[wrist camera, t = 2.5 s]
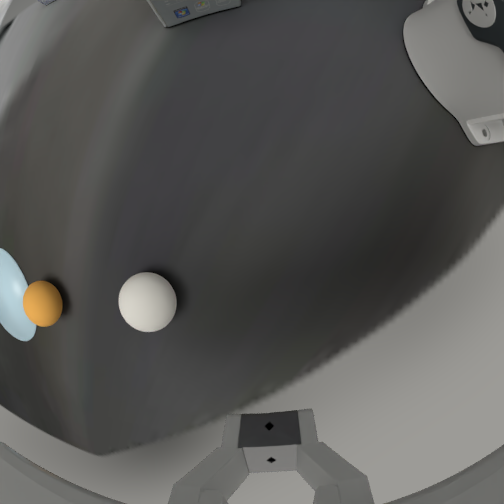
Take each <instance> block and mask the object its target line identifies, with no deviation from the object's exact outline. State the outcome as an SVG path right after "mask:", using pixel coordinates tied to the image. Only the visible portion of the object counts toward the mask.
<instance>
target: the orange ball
mask: <svg viewBox="0 0 504 504" xmlns="http://www.w3.org/2000/svg"><path fill="white" fill-rule="evenodd" d="M23 308H24V311H25V314H26V315H27V317H28V318H29V320H30V321H31V322H33V323H34V324H36V325H38V326H42V327H46V326H50V325H52V324H54V323H55V322H56V321H57V320H58V319H59V317H60V315H61V312H62V298H61V295H60V293H59V291H58V290H57V288H56V287H55V286H54V285H52V284H51V283H49V282H47V281H36V282H34V283H32V284H30V285H29V286H28V288H27V289H26V291H25V293H24V296H23Z"/></svg>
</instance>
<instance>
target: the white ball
mask: <svg viewBox="0 0 504 504" xmlns="http://www.w3.org/2000/svg"><path fill="white" fill-rule="evenodd" d="M176 306H177V300H176V295H175V292H174V290H173V288H172V286H171V285H170V283H169V282H168V281H167V280H166V279H165V278H163V277H162V276H160V275H158V274H155V273H150V272H143V273H139V274H136V275H134V276H132V277H131V278H129V279H128V280H127V281H126V282H125V283H124V285H123V286H122V288H121V291H120V294H119V308H120V311H121V314H122V316H123V318H124V319H125V320H126V322H127V323H128V324H129V325H131V326H132V327H133V328H135V329H137V330H140V331H144V332H154V331H157V330H160V329H162V328H164V327H165V326H166V325H168V324H169V322H170V321H171V320H172V318H173V317H174V314H175V311H176Z"/></svg>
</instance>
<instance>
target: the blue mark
mask: <svg viewBox="0 0 504 504" xmlns="http://www.w3.org/2000/svg"><path fill="white" fill-rule="evenodd" d="M27 288H28V283H27V281H26V279H25V276H24V274H23V273H22V271H21V269H20V267H19V266H18V264H17V262H16V261H15V260H14V258H13V257H12V256H11V255H10V254H9V253H8V252H7V251H5V250H4V249H2V248H0V323H1V324H2V325H3V327H4V328H5V329H6V330H7V331H8V332H9V333H10V334H11V335H12V336H14V337H15V338H17V339H19V340H22V341H28V340H30V339H31V338H32V337H33V336H34V334H35V332H36V327H37V325H36V324H34V323H33V322H31V321H30V320H29V318H28V317H27V315H26V314H25V311H24V308H23V296H24V293H25V291H26V289H27Z"/></svg>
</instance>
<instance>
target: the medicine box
mask: <svg viewBox="0 0 504 504" xmlns="http://www.w3.org/2000/svg"><path fill="white" fill-rule="evenodd" d="M37 1H39V2H41V3H42V4H44V5H48V4H49V3H51V2H53V1H55V0H37Z"/></svg>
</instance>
